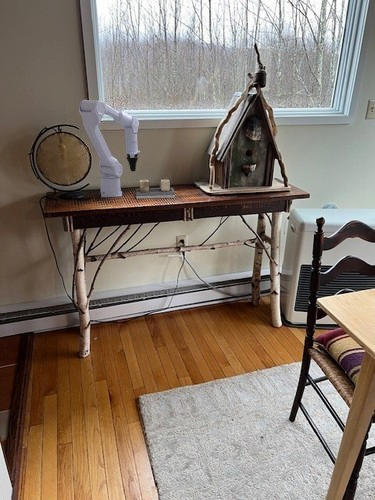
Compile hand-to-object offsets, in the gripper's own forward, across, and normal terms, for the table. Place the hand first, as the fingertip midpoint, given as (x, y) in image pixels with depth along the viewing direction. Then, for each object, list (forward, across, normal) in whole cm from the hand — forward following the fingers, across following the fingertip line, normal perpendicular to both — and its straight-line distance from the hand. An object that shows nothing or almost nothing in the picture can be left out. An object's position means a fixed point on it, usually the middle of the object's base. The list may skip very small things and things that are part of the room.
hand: (133, 169), depth 184 cm
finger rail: (+9, -16, -10) cm, 21 cm away
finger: (+8, -16, -5) cm, 19 cm away
